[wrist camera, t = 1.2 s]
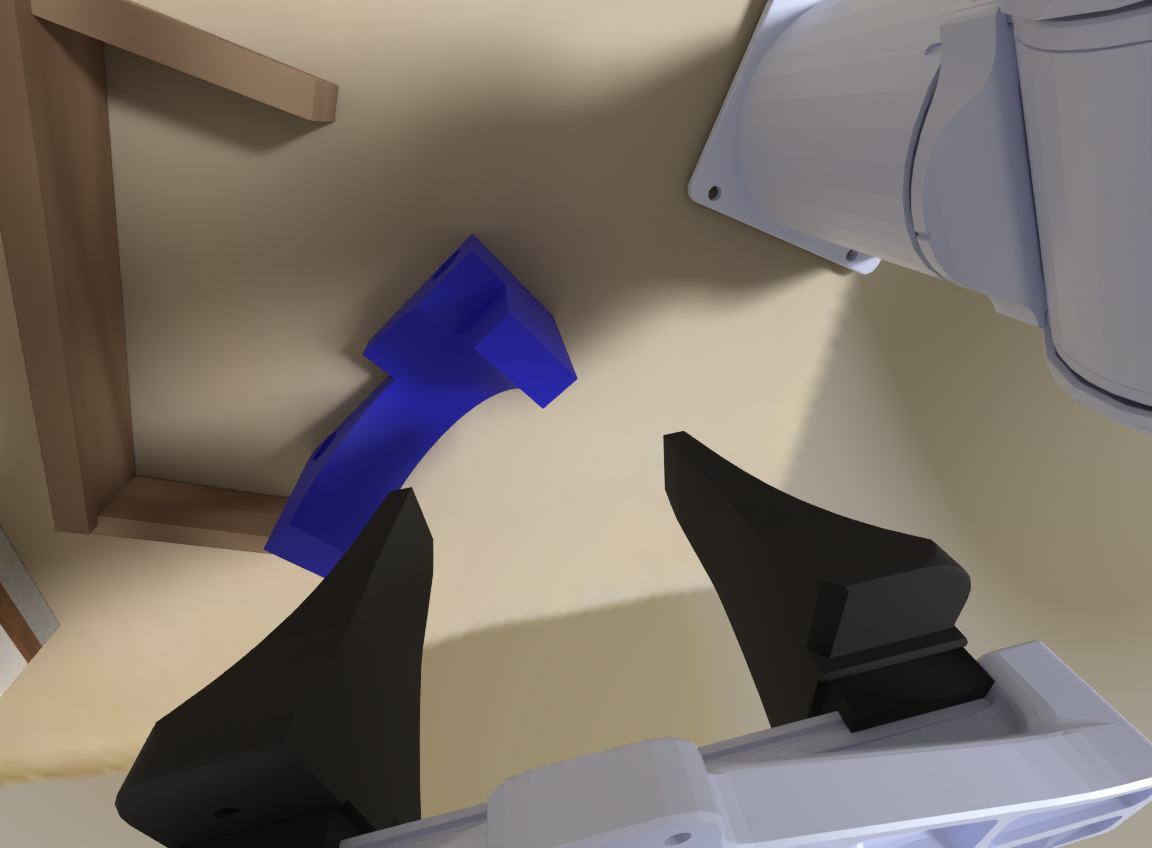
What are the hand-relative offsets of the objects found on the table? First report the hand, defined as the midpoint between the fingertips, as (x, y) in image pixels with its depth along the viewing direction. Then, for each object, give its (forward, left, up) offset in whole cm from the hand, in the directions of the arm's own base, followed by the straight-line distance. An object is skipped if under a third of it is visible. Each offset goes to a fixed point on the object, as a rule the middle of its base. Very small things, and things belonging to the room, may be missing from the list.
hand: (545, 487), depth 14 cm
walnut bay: (+11, +2, -9) cm, 14 cm away
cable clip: (+4, +2, -9) cm, 10 cm away
